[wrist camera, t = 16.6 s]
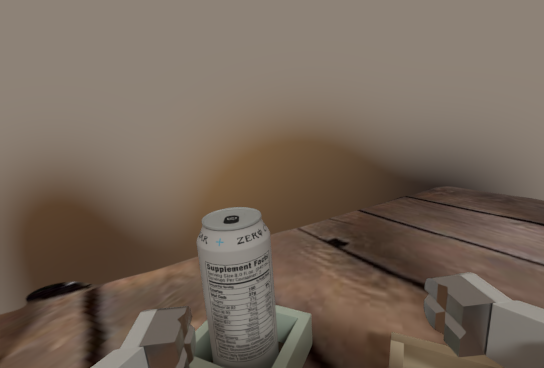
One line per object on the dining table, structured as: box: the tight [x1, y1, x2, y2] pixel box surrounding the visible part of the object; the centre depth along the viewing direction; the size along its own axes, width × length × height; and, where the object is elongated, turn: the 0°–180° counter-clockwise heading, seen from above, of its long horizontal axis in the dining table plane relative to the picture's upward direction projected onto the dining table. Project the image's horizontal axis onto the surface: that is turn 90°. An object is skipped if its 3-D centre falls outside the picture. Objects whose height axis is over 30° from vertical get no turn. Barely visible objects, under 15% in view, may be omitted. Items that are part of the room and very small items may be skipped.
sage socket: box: [189, 305, 312, 368], centre depth 26 cm, size 9×9×4 cm
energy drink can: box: [197, 207, 279, 368], centre depth 24 cm, size 6×6×15 cm
